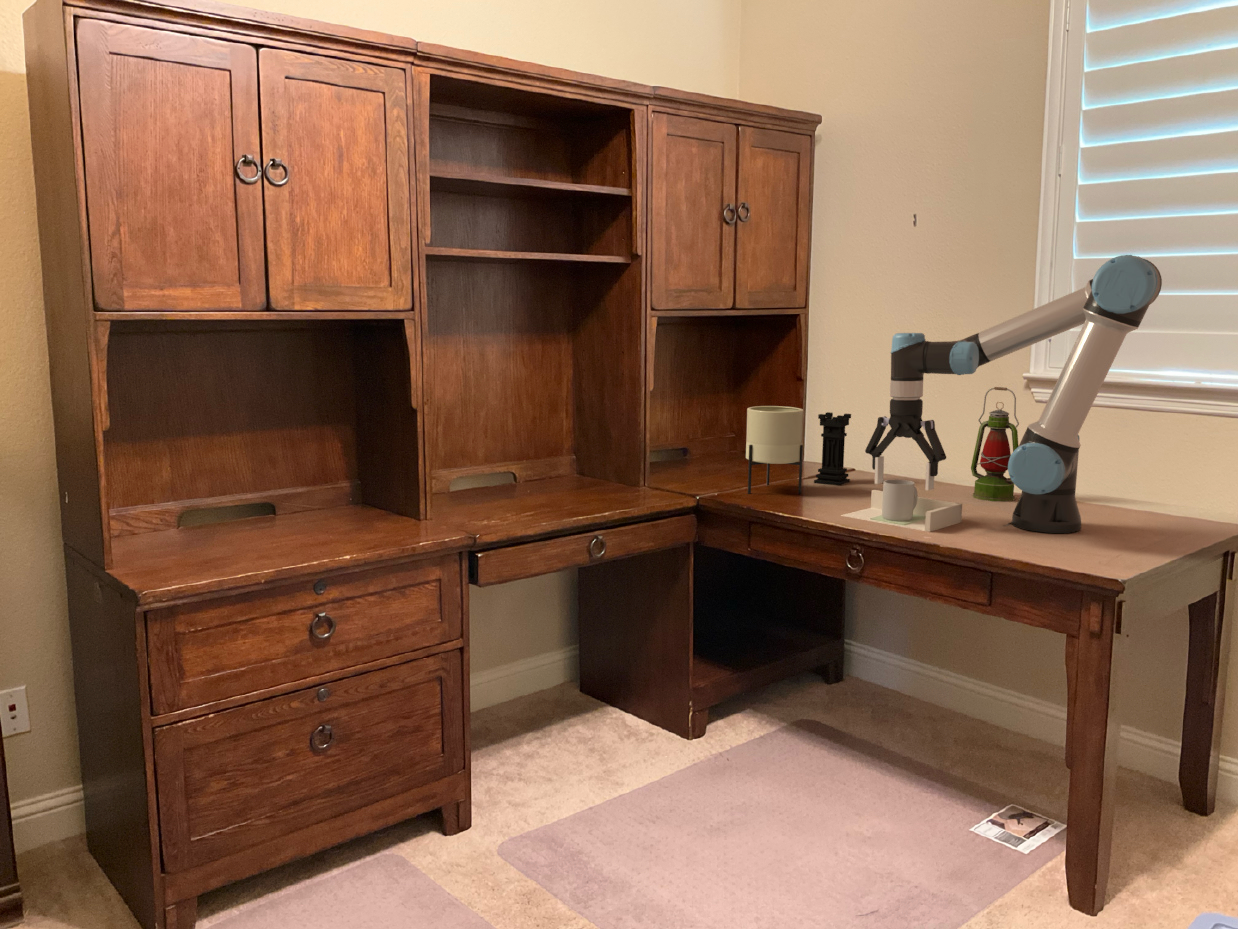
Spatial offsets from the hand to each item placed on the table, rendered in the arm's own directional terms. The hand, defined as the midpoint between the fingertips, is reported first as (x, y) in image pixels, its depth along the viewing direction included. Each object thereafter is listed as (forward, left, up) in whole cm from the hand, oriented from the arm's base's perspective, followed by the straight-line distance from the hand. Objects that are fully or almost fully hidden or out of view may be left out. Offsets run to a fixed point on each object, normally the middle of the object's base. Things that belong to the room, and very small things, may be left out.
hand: (903, 486), depth 246 cm
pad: (0, 0, -8) cm, 8 cm away
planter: (+44, -8, -9) cm, 46 cm away
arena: (0, 0, -9) cm, 9 cm away
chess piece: (+41, -32, -9) cm, 53 cm away
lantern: (-2, -45, -9) cm, 46 cm away
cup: (0, 0, -8) cm, 8 cm away
